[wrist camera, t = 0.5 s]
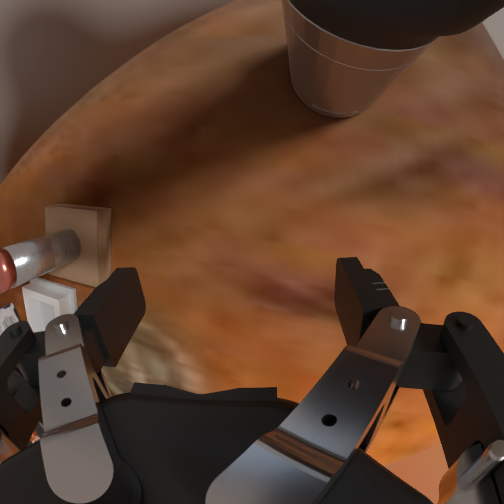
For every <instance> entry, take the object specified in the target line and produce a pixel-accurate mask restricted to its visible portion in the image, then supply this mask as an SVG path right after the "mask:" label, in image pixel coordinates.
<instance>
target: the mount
mask: <svg viewBox="0 0 504 504" xmlns="http://www.w3.org/2000/svg"><path fill="white" fill-rule="evenodd" d="M111 214H112V208H105V207H95V206H85V205H74V204H63V203H58V204H52V205H47V206H45V234H46V235H47V234H50V233H54V232H57V231H61V230H65V229H71V230H73V231H74V232H75V233H76V234H77V236H78V238H79V240H80V243H81V253H80V256H79V258H78V259H77V260H76V261H74V262H71V263H69V264H66V265H64V266H62V267H59V268H57V269H55V270H52V271H50V272H48V274H49V275H53V276H56V277H60V278H64V279H67V280H71V281H74V282H78V283H82V284H86V285H89V286H93V287H97V286H98V285H100V284H101V283H103V282H104V281H106V280H107V279H108V278H109V276H110V275H111V274H112V273H111Z"/></svg>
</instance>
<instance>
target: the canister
mask: <svg viewBox="0 0 504 504" xmlns="http://www.w3.org/2000/svg"><path fill="white" fill-rule="evenodd" d="M80 253H81V243H80V240H79V238H78V236H77V234H76V233H75V232H74V231H73V230H71V229H65V230H61V231H57V232H54V233H50V234H47V235H43V236H40V237H36V238H33V239H30V240H26V241H23V242H20V243H17V244H13V245H10V246H7V247H4V248H1V249H0V294H1V293H4V292H6V291H8V290H10V289H12V288H14V287H17V286H19V285H21V284H23V283H25V282H28V281H30V280H32V279H34V278H36V277H39V276H41V275H43V274H46V273H48V272H50V271H52V270H55V269H57V268H59V267H62V266H64V265H66V264H69V263H71V262H74V261H76V260H77V259H78V258H79V256H80Z"/></svg>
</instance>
